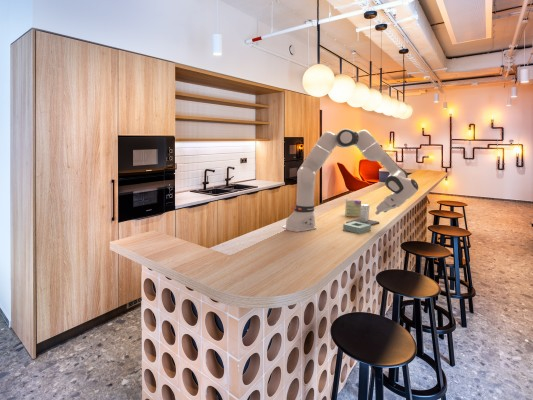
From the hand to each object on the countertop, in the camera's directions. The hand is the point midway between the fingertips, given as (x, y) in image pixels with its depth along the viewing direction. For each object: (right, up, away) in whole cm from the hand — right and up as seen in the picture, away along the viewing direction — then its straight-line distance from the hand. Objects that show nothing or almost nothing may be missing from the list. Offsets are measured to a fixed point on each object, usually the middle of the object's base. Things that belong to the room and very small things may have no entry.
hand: (380, 212), depth 212 cm
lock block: (-17, -11, -5) cm, 20 cm away
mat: (-8, -8, +11) cm, 16 cm away
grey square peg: (-8, -7, +10) cm, 14 cm away
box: (-9, -4, +33) cm, 35 cm away
